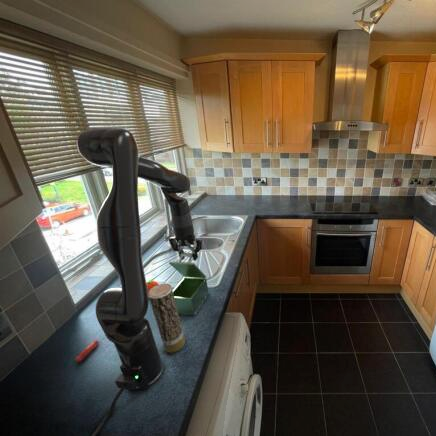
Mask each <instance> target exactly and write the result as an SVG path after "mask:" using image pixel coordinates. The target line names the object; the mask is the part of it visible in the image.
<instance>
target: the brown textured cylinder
mask: <svg viewBox="0 0 436 436" xmlns="http://www.w3.org/2000/svg"><path fill="white" fill-rule="evenodd" d="M158 284H159V283H158ZM148 296H149V304H150V306H151V309H152V312H153V317H154V319H155V322H156V326H157V329H158V332H159V336H160V339H161V341H162V345H163V348H164V350H165V352H166V353H170V354H172V353H176V352H179V351H180V350H181V349H182V348H183V347H184V345H185V343H186V339H185V335H184V331H183V326H182V323H181V320H180V314H178V310H177V306H176V303H175V299H174V295H173V287H172V285H171V284H169V283H160V284H159V285H156V286H154V287H153V288H151V289H150V290H149V292H148Z"/></svg>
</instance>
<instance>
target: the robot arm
mask: <svg viewBox="0 0 436 436" xmlns="http://www.w3.org/2000/svg"><path fill="white" fill-rule="evenodd" d="M76 147H77V150H78V152H79V154H80V156H81V157H82V158H84V160H85V161H86V162H88V163H90V164H92V165H95V166H99V167H103V168H106V169H107V168H108V169H111V171H112V173H111V174H112V177H111V178H112V182H111V187H110V191H109V193H108V194H107V197H106V198H105V200H104V202H103V203H102V205H101V207H100V209H99V211H98V213H97V216H96V222H95V223H96V233H97V241H98V246H99V248H100V250H101V252H102V253H103V255H104V256H105V257H106V259H107V260H108V262H109V263H110V265H111V266H112V267H113V269H114V270H115V271H116V273H117V276H118V278H119V282H120V286H121V287H111V288H108V289H105V291H103V292H102V293H101V294H100V296H99V297H98V298H97V301H96V304H95V316H96V319H97V322H98V324H99V326H100V328H101V330H102V331H103V333H104V335H105V337H106V338H107V340H108V341H110V342H111V343H113V345H114V348H115V350H116V352H117V354H118V357H119V360H120V362H121V365H120V366H119V369H120V372H121V373H120V374H119V375H118V376H117V378H116V379H115V381H114V382H115V384H116V387H117V389H119V390H118V392H117V394H116V395H115V396H114V398H113V400H112V402H111V403H110V407H109V409H108V411H107V412H106V414H105V416H104V417H103V419H102V420H101V422H100V424H99V425H98V426H97V428H96V429H95V430H94V432H93V433H92V434H91V436H97V435H98V434H99V432H100V431H101V430H102V429H103V427H104V425H105V423H107V420H108V419H109V417H110V416H111V414H112V412H113V411H114V409H115V406H116V403H117V402H118V400H119V398H120V396H122V393H123V392H124V390H130V391H131V390H132V391H136V390H140V391H141V390H142V391H147V390H148V389H149V387H150V386H152V385H154V384H155V383H156V382H157V381H158V380H159V379H160V378H161V376H162V375H163V373H164V368H165V367H164V363H163V361H162V358H161V355H160V352H159V348H158V346H157V343H156V340H155V337H154V334H153V330H152V328H151V327H152V326H151V324H150V322H149V320H148V319H147V318H145V317H146V315H147V313H148V309H149V304H150V300H149V296H148V289H147V284H146V283H147V279H146V273H145V269H144V261H143V250H142V231H141V219H140V209H139V207H140V206H139V179H142V180H143V181H146V182H147V183H150V184H152V185H154V186H157V187H159V190H160V191H161V193H162V195H163V197H164V199H165V200H166V203H167V205H168V207H169V212H170V219H171V225H172V230H173V234H174V236H171V237H169V239H168V242H169V244H170V246H171V249H172V251H173V252H177V253H178V256H179V259H180V258H181V253H182V252H185V250H184V247H187V248H188V249H189V250H190V252H191V253H192V256H193V257H192V260H193V261H197V260H198V258H199V253H200V251H202V245H203V237H196V235H195V229H194V223H193V218H192V214H191V210H190V205H189V200H188V199H187V198H185V197H182V196H179V195H178V194H185V193H188V191H189V190H190V188H191V181H190V179H189V178H188V177H187V175H186V174H184V173H181V172H179V171H176V170H172V169H169V168H168V167H166V166H165V165H163V164H161V163H159V162H157V161H155V160H153V159H151V158H146V157H143V156H140V155H139V153H140V152H139V146H138V143H137V140H136V138H135V136H134V134H133V133H132V132H130V130H128V129H125V128H119V127H118V128H116V127H115V128H111V127H110V128H109V127H107V128H104V127H103V128H95V127H94V128H88V129H85V130H82V131H81V132H80V133H79V134H78V136H77V139H76ZM185 258H186V257H183V259H182V261H183V260H185Z"/></svg>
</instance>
